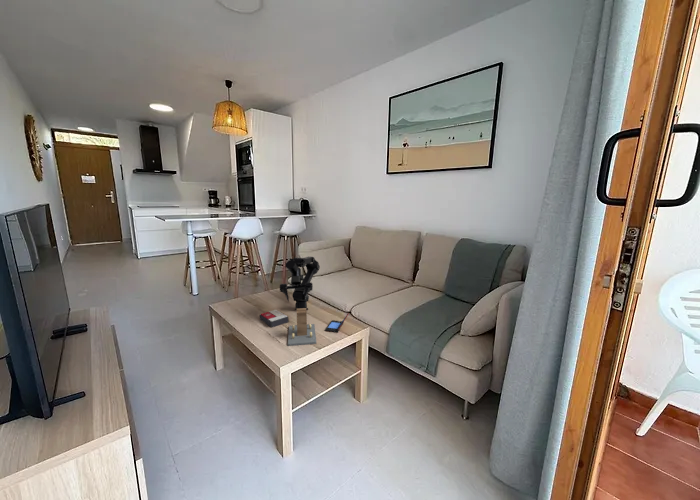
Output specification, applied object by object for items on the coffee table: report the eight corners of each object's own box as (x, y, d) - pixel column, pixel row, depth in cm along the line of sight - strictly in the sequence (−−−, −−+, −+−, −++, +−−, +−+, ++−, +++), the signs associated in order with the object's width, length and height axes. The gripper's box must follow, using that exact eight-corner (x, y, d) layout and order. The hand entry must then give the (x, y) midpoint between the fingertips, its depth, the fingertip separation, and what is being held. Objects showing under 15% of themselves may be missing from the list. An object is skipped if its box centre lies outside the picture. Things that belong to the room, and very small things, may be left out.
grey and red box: (276, 308, 179) (288, 315, 168) (276, 315, 180) (288, 322, 169) (259, 313, 172) (270, 320, 161) (259, 320, 173) (271, 328, 162)
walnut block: (297, 331, 156) (296, 308, 153) (306, 330, 156) (306, 308, 154) (297, 335, 151) (296, 312, 148) (307, 335, 152) (306, 312, 149)
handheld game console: (331, 321, 170) (331, 309, 169) (349, 324, 168) (349, 311, 166) (324, 331, 158) (324, 319, 157) (343, 334, 156) (343, 321, 154)
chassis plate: (289, 327, 162) (289, 321, 161) (314, 325, 165) (314, 319, 164) (287, 346, 143) (287, 339, 142) (316, 343, 145) (316, 337, 145)
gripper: (279, 270, 165) (278, 295, 157) (312, 269, 168) (313, 293, 160) (280, 279, 174) (280, 303, 166) (311, 278, 177) (312, 302, 169)
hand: (296, 300), depth 165 cm, fingers open, 9 cm apart
